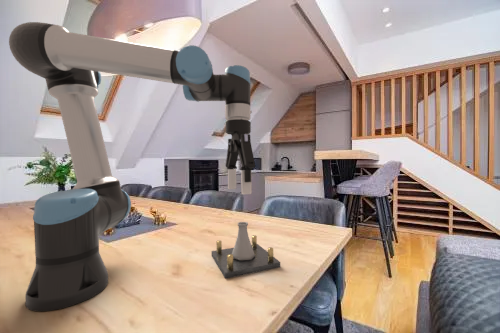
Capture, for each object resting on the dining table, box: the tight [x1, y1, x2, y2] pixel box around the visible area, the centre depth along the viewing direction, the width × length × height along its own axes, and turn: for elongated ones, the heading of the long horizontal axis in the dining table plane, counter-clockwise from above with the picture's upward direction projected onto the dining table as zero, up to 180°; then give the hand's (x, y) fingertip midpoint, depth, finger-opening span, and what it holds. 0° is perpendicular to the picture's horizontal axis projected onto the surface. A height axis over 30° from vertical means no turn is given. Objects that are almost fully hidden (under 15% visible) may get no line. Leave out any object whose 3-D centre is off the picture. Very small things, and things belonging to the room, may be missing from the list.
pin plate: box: [211, 235, 281, 280], centre depth 69 cm, size 16×16×5 cm
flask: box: [232, 221, 255, 260], centre depth 69 cm, size 7×7×10 cm
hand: (238, 191), depth 69 cm, fingers open, 13 cm apart
